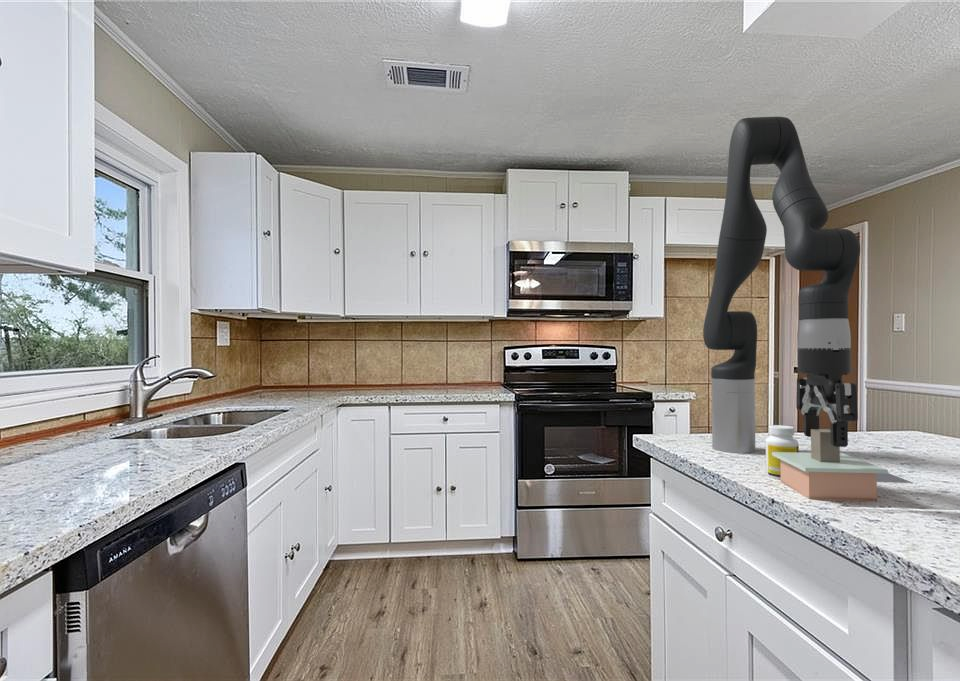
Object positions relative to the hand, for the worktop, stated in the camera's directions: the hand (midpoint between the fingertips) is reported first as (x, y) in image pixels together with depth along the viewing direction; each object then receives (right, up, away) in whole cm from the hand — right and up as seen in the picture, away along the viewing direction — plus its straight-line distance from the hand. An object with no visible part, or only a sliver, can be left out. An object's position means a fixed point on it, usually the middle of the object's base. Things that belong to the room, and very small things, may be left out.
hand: (824, 441), depth 85 cm
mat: (+14, -9, +11) cm, 20 cm away
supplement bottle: (-2, -9, +10) cm, 13 cm away
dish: (0, -9, 0) cm, 9 cm away
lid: (0, -4, 0) cm, 4 cm away
